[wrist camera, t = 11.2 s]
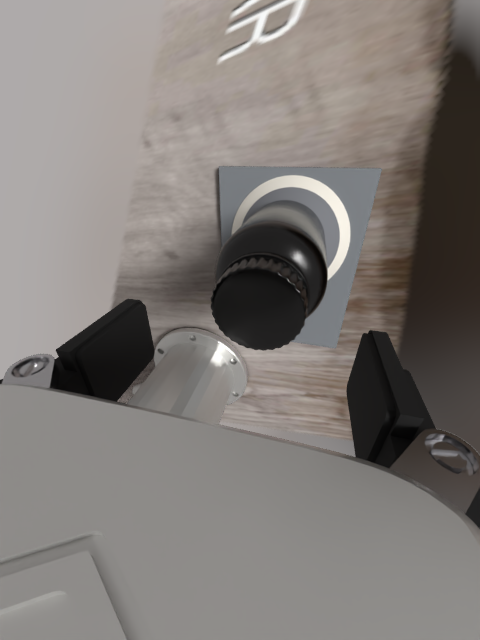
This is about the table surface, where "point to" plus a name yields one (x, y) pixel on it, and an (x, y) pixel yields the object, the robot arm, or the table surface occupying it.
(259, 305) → the supplement bottle
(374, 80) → the table surface
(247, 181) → the mat
